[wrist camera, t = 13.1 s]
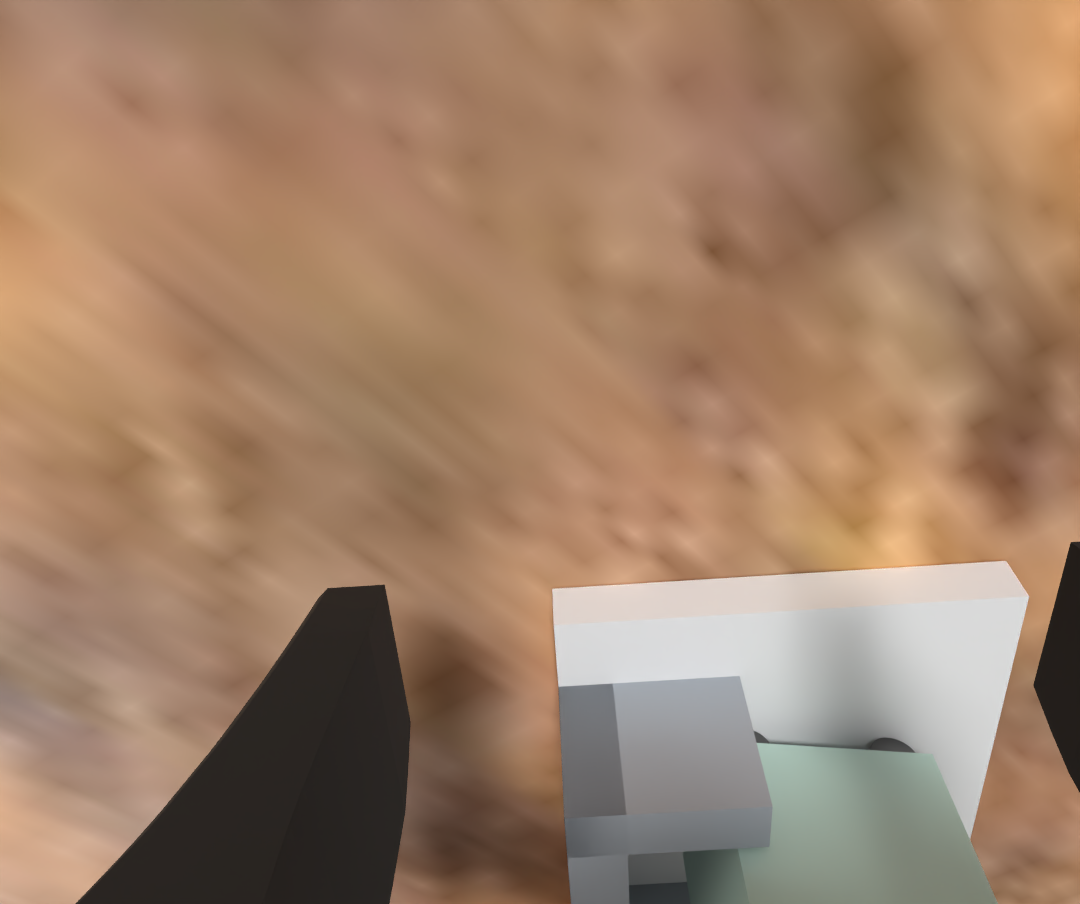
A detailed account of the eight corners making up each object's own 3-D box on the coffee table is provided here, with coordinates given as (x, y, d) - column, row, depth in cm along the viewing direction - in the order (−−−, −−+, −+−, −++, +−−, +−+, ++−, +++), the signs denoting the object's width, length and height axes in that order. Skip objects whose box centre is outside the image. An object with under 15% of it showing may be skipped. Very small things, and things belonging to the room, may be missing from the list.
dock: (1005, 561, 23) (1110, 722, 19) (931, 896, 29) (997, 1070, 25) (552, 588, 23) (559, 753, 19) (577, 915, 29) (586, 1091, 25)
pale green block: (923, 733, 24) (1011, 935, 19) (875, 844, 26) (945, 1048, 22) (710, 719, 23) (753, 922, 19) (679, 833, 25) (711, 1038, 21)
